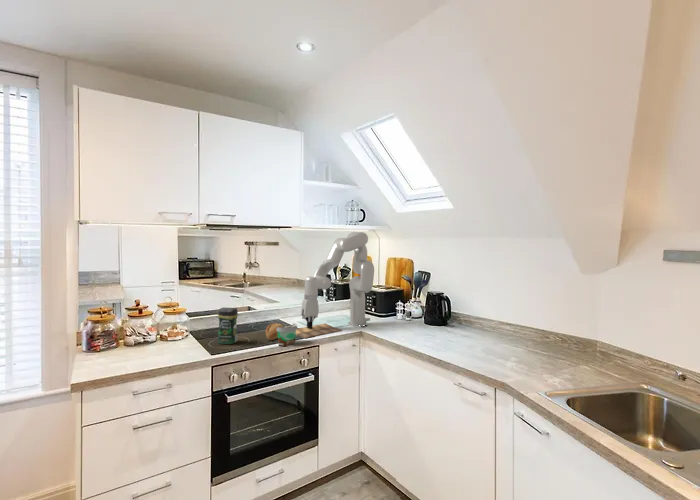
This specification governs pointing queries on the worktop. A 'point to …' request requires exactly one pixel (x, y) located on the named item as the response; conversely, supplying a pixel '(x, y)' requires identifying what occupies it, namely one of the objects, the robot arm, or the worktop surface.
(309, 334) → the walnut board
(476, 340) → the worktop surface
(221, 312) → the coffee jar
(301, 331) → the oak board
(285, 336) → the food container
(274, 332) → the bread roll
